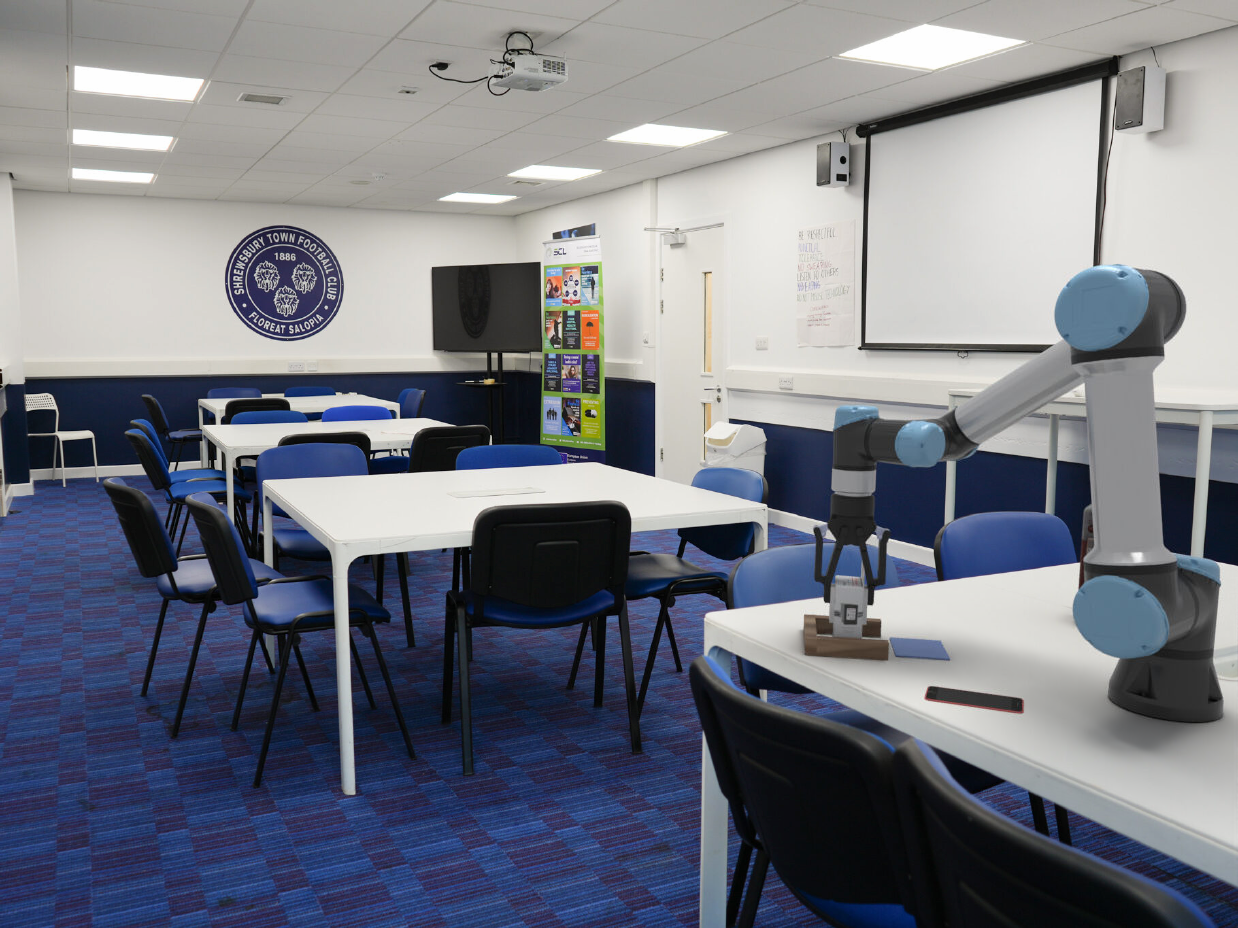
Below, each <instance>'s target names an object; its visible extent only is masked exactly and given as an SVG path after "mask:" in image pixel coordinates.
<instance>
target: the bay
mask: <svg viewBox="0 0 1238 928" xmlns="http://www.w3.org/2000/svg"><path fill="white" fill-rule="evenodd" d="M819 634H820V635H819ZM829 635H830V636H829ZM831 635H832V636H831ZM863 637H867V638H863ZM881 637H882V619H881V618H873V617H872V618H871V617H869V618H868V617H867V624H866V625H862V638H846V637H833V623H830V622H829V615H820V614H808V613H807V614H803V646H804V649H803V650H804V655H805V656H813V657H814V656H815V657H831V658H845V659H858V660H859V659H860V660H874V661H875V660H876V661H889V655H890V654H889V653H890V643H889V640H888V639H875V638H881Z"/></svg>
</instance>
